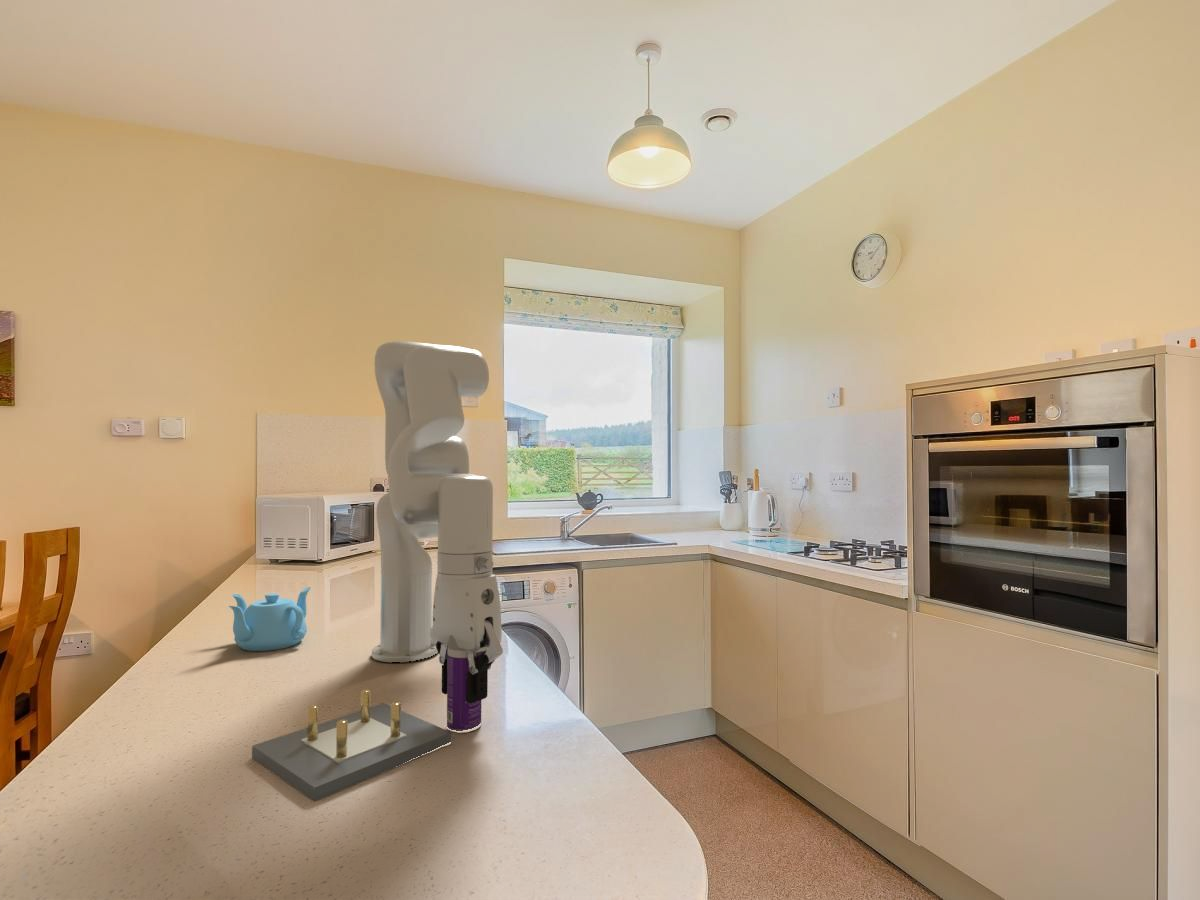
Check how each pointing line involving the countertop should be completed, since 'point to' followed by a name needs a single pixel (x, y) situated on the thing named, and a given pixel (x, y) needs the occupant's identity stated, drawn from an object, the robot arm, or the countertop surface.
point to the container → (460, 690)
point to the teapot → (269, 622)
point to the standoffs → (342, 724)
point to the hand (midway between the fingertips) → (464, 694)
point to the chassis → (366, 751)
